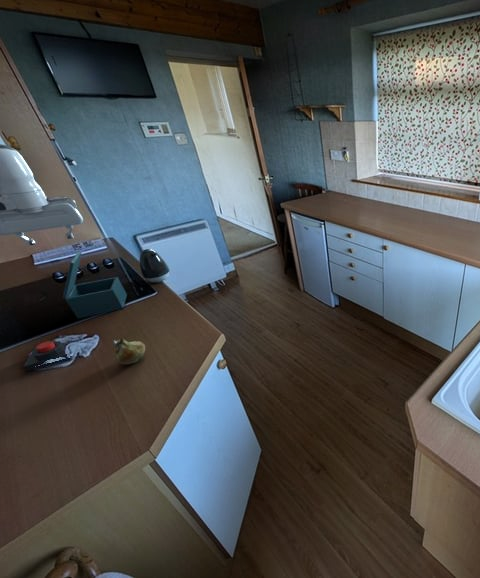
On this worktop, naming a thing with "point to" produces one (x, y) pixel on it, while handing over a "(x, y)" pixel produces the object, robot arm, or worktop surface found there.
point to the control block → (46, 357)
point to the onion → (129, 351)
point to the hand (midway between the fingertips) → (52, 241)
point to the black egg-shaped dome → (153, 266)
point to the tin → (96, 297)
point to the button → (45, 346)
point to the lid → (72, 274)
